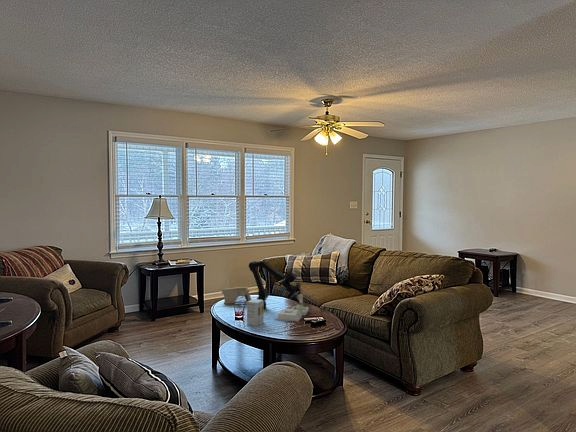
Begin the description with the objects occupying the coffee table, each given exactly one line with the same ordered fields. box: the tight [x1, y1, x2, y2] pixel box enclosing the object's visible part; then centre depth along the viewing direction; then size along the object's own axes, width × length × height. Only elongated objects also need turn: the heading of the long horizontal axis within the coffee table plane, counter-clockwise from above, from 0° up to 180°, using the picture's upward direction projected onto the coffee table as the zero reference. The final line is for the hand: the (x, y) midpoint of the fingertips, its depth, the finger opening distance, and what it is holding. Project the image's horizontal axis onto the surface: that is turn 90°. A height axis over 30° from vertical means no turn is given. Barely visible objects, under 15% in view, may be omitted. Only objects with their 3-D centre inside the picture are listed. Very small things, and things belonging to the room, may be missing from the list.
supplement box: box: [246, 298, 265, 327], centre depth 286 cm, size 10×9×17 cm
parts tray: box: [291, 305, 309, 316], centre depth 313 cm, size 12×12×3 cm
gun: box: [221, 286, 252, 305], centre depth 338 cm, size 24×3×15 cm, turn 84°
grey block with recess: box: [274, 308, 303, 323], centre depth 299 cm, size 18×14×4 cm
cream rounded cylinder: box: [296, 294, 304, 311], centre depth 312 cm, size 5×5×13 cm
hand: (301, 301), depth 312 cm, fingers open, 8 cm apart
